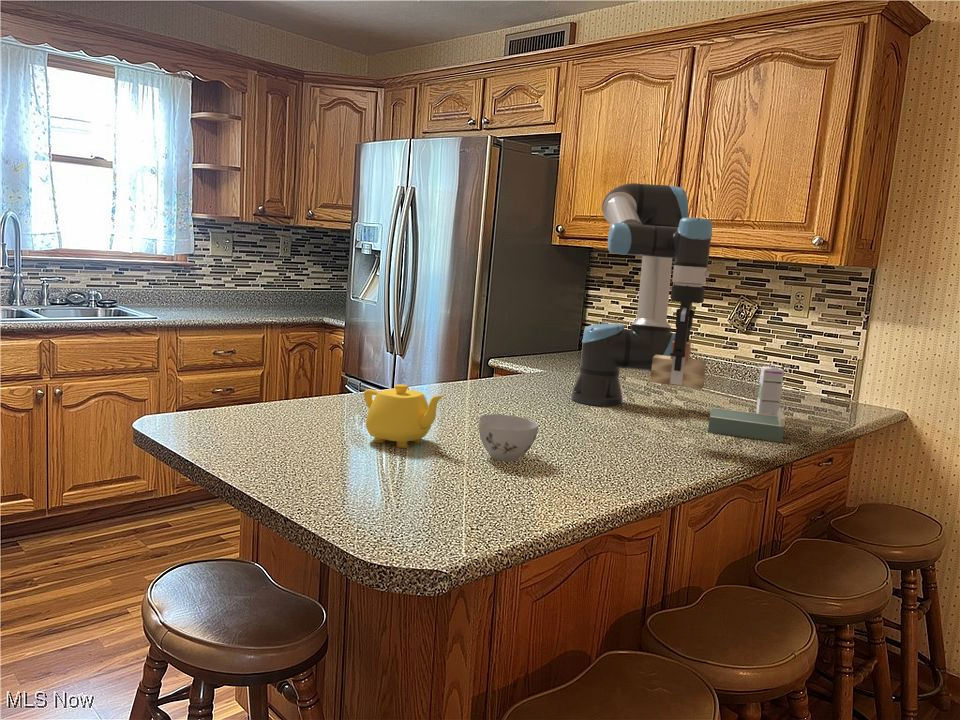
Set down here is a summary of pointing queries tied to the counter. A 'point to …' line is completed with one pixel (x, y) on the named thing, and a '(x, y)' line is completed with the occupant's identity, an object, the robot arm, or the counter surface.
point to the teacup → (507, 435)
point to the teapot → (399, 415)
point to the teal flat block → (747, 424)
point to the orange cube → (687, 350)
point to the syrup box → (769, 390)
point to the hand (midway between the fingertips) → (677, 381)
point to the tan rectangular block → (691, 374)
